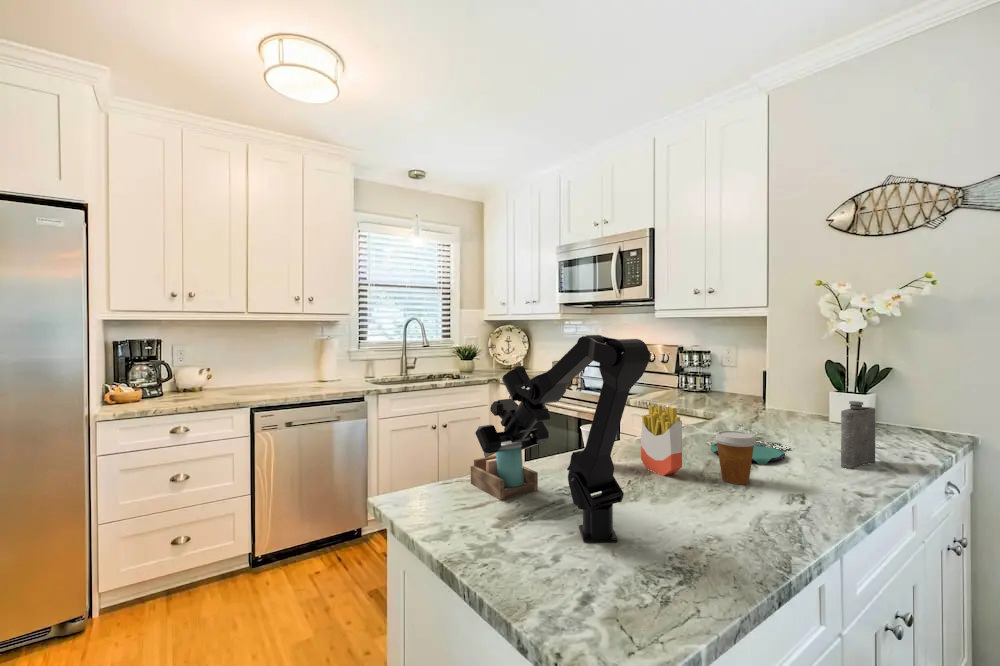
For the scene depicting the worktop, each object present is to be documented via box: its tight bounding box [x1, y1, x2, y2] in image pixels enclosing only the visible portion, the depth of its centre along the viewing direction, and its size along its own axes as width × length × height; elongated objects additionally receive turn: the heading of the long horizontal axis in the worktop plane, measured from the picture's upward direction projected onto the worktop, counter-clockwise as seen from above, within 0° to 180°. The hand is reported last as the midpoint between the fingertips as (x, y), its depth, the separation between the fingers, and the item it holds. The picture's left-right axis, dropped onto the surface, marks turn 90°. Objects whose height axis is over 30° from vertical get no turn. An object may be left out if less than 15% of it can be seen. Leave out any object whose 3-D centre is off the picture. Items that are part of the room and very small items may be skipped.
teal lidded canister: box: [495, 441, 524, 487], centre depth 116 cm, size 7×7×10 cm
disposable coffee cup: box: [714, 430, 757, 485], centre depth 122 cm, size 10×10×12 cm
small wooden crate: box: [470, 455, 539, 501], centre depth 119 cm, size 14×11×6 cm
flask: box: [840, 400, 876, 470], centre depth 134 cm, size 4×14×18 cm, turn 117°
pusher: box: [486, 459, 498, 477], centre depth 120 cm, size 1×8×6 cm, turn 123°
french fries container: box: [640, 404, 683, 476], centre depth 129 cm, size 5×11×18 cm, turn 28°
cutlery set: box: [709, 438, 791, 465], centre depth 148 cm, size 20×30×2 cm, turn 128°
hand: (500, 453), depth 120 cm, fingers open, 9 cm apart
